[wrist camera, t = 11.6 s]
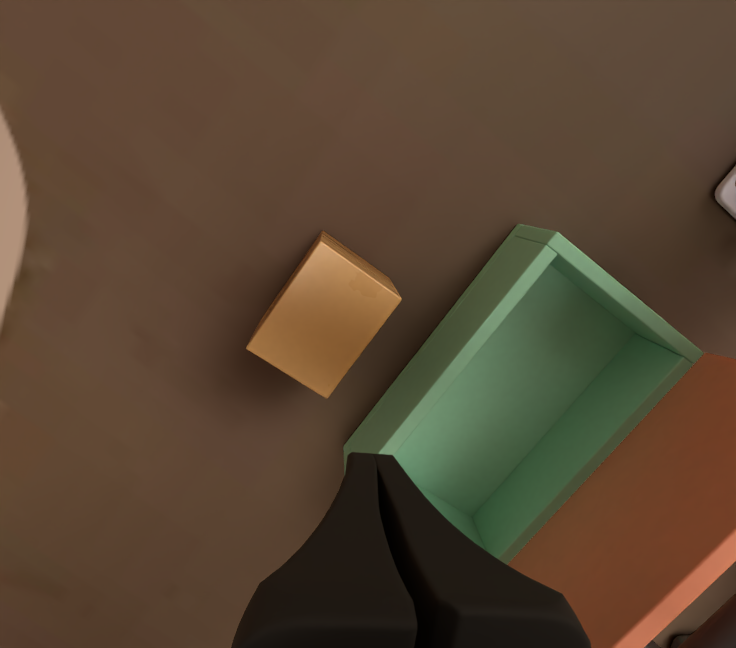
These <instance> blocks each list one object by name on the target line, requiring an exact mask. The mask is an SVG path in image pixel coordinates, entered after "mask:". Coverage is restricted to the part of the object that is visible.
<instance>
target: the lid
mask: <svg viewBox="0 0 736 648" xmlns="http://www.w3.org/2000/svg"><path fill="white" fill-rule="evenodd" d="M735 561H736V359H732V358H728V357H723V356H719V355H714V354H710V353H705V354H704V355H703V356H702V357H701V358H700V359H699V360H698V361H697V362H696V363H695V364H694V365H693V366H692V368H691V369H690V370H689V371H688V372H687V373H686V374H685V375H684V376H683V377H682V378H681V379H680V380H679V381H678V383H677V384H676V385H675V386H674V387H673V388H672V389H671V390H670V391H669V392H668V393H667V394H666V395H665V396H664V398H663V399H662V400H661V401H660V402H659V403H658V404H657V405H656V406H655V407H654V408H653V409H652V410H651V411H650V413H649V414H648V415H647V416H646V417H645V418H644V419H643V420H642V421H641V422H640V423H639V424H638V425H637V426H636V428H635V429H634V430H633V431H632V432H631V433H630V434H629V435H628V436H627V437H626V438H625V439H624V440H623V441H622V443H621V444H620V445H619V446H618V447H617V448H616V449H615V450H614V451H613V452H612V453H611V454H610V455H609V457H608V458H607V459H606V460H605V461H604V462H603V463H602V464H601V465H600V466H599V467H598V468H597V469H596V470H595V472H594V473H593V474H592V475H591V476H590V477H589V478H588V479H587V480H586V481H585V482H584V483H583V484H582V485H581V487H580V488H579V489H578V490H577V491H576V492H575V493H574V494H573V495H572V496H571V497H570V498H569V499H568V500H567V502H566V503H565V504H564V505H563V506H562V507H561V508H560V509H559V510H558V511H557V512H556V513H555V514H554V515H553V517H552V518H551V519H550V520H549V521H548V522H547V523H546V524H545V525H544V526H543V527H542V528H541V529H540V530H539V532H538V533H537V534H536V535H535V536H534V537H533V538H532V539H531V540H530V541H529V542H528V543H527V544H526V545H525V547H524V548H523V549H522V550H521V551H520V552H519V553H518V554H517V555H516V556H515V557H514V558H513V559H512V560H511V562H510V563H509V564H508V566H510V567H512V568H513V569H515V570H517V571H518V572H520V573H522V574H524V575H525V576H527V577H529V578H531V579H533V580H535V581H537V582H539V583H541V584H543V585H545V586H547V587H549V588H552V589H554V590H556V591H558V592H560V593H562V594H563V595H564V597H565V598H566V600H567V601H568V603H569V605H570V606H571V608H572V609H573V611H574V612H575V614H576V616H577V618H578V620H579V621H580V623H581V625H582V627H583V629H584V631H585V633H586V634H587V636H588V638H589V640H590V643H591V648H661V647H660V646H658V645H657V644H656V643H655V642H654V641H653V640H652V639H653V638H654V637H656V636H657V635H658V634H659V633H660V632H661V631H662V630H663V629H664V628H665V627H666V626H667V625H668V624H669V623H670V622H671V621H673V620H674V619H675V618H676V617H677V616H678V615H679V614H680V613H681V612H682V611H683V610H684V609H685V608H686V607H687V606H689V605H690V604H691V603H692V602H693V601H694V600H695V599H696V598H697V597H698V596H699V595H700V594H701V593H702V592H703V591H704V590H706V589H707V588H708V587H709V586H710V585H711V584H712V583H713V582H714V581H715V580H716V579H717V578H718V577H719V576H720V575H721V574H723V573H724V572H725V571H726V570H727V569H728V568H729V567H730V566H731V565H732V564H733V563H734V562H735ZM677 648H736V594H735V595H734V596H733V597H732V598H731V599H729V600H728V601H727V602H726V603H725V604H724V605H723V606H722V607H721V608H720V609H719V610H718V611H716V612H715V613H714V614H713V615H712V616H711V617H710V618H709V619H708V620H707V621H706V622H705V623H703V624H702V625H701V626H700V627H699V628H698V629H697V630H696V631H695V632H694V633H693V634H692V635H690V636H689V637H688V638H687V639H686V640H685V641H684V642H683V643H682V644H681V645H680V646H679V647H677Z"/></svg>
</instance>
